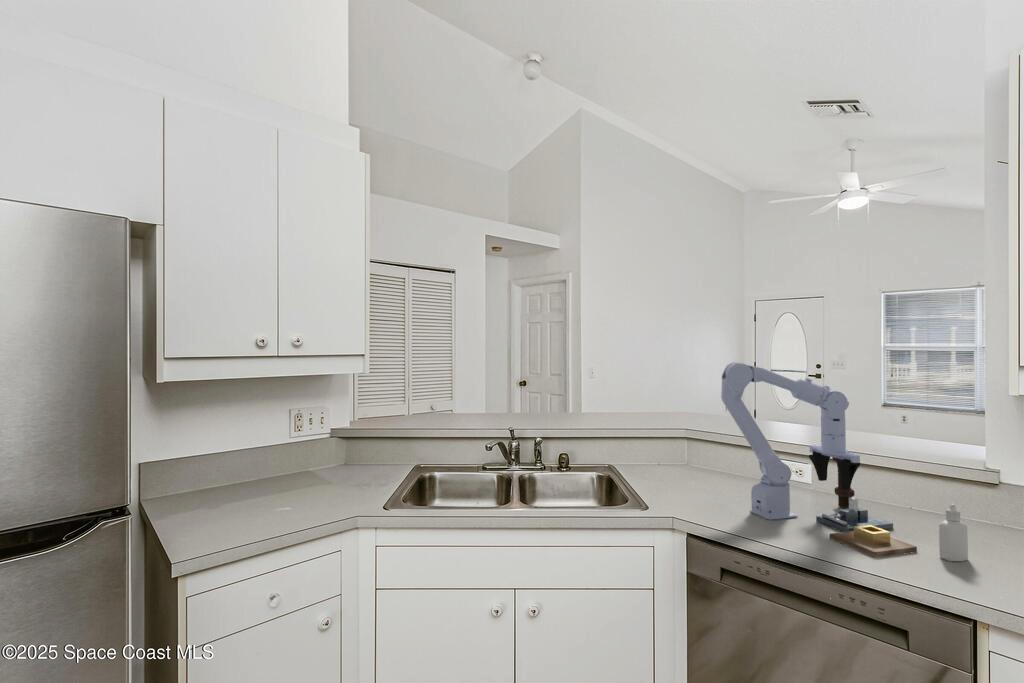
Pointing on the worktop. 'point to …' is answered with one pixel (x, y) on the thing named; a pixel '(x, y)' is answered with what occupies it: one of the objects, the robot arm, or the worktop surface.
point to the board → (873, 550)
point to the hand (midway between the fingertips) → (834, 483)
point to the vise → (852, 518)
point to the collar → (872, 534)
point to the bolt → (842, 490)
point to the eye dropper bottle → (953, 536)
